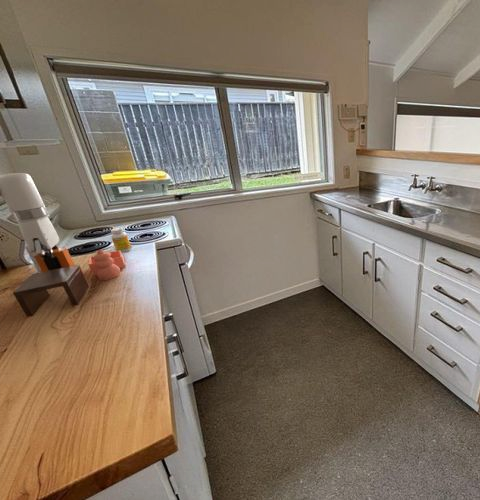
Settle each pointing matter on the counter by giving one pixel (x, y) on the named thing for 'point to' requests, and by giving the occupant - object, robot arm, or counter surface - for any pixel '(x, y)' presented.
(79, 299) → the shelf
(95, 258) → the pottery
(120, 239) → the supplement bottle
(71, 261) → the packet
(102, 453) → the counter surface
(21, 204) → the robot arm
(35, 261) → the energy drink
